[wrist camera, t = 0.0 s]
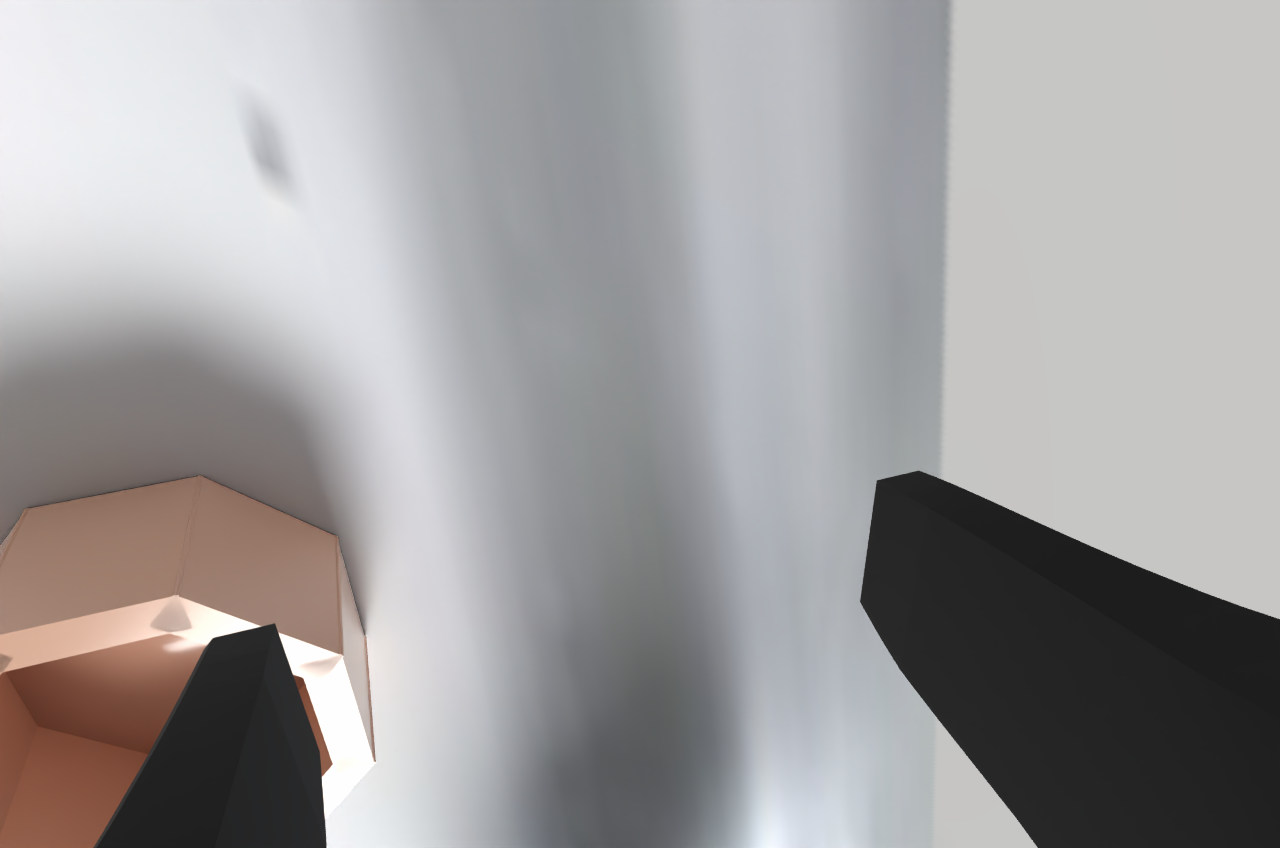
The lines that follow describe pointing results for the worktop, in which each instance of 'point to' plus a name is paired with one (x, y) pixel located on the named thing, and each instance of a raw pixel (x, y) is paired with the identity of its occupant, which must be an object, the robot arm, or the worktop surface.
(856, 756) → the worktop surface
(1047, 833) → the robot arm
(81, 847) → the bowl
